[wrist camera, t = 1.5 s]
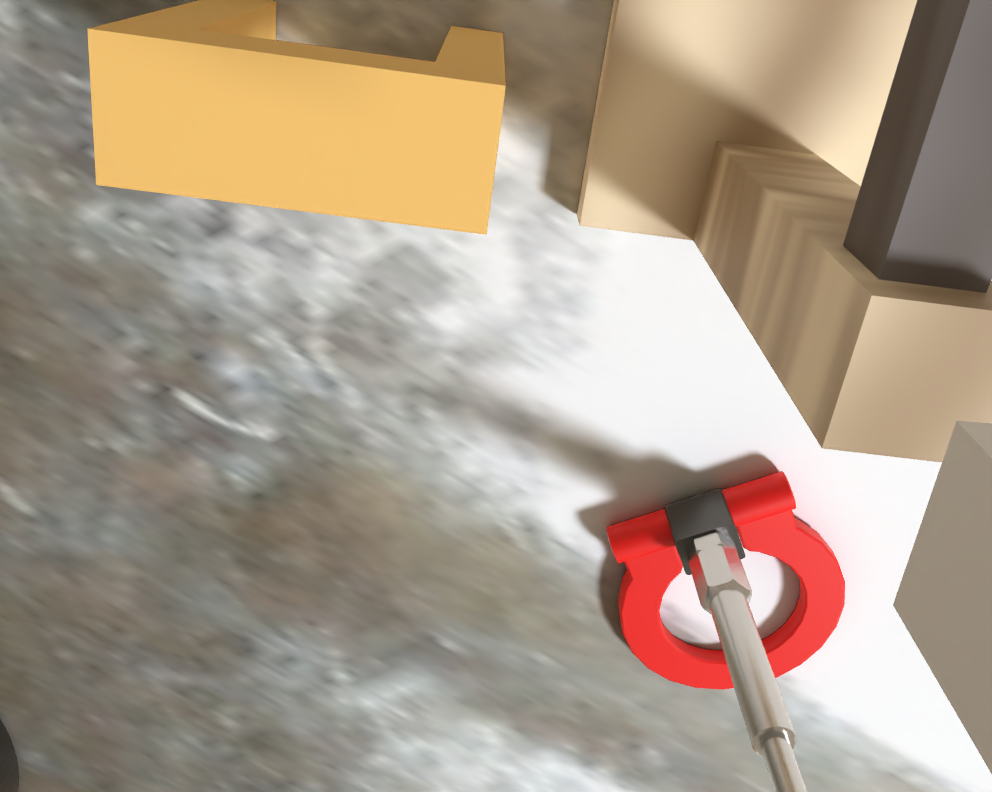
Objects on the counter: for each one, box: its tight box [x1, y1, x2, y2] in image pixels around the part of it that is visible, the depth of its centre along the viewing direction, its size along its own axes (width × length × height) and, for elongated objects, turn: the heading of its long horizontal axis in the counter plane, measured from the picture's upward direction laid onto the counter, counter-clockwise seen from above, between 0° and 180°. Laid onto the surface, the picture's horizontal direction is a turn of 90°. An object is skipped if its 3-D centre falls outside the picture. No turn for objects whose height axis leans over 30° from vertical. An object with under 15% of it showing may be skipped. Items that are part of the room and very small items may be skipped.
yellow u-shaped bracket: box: [88, 0, 506, 235], centre depth 23 cm, size 8×3×10 cm, turn 83°
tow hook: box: [607, 471, 845, 792], centre depth 31 cm, size 8×13×9 cm
